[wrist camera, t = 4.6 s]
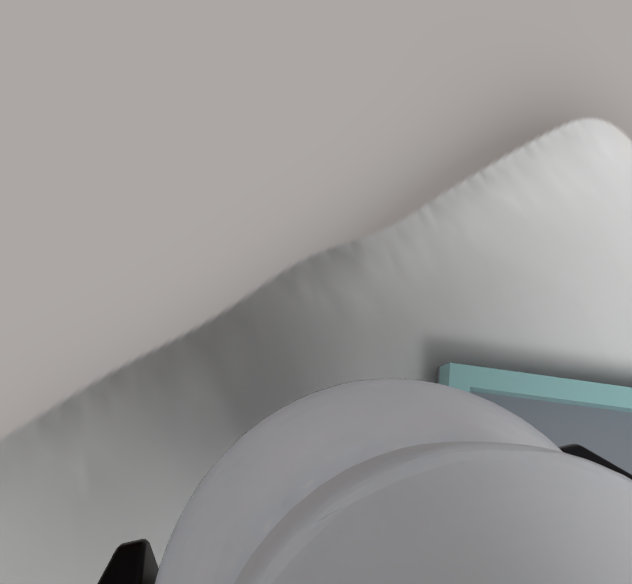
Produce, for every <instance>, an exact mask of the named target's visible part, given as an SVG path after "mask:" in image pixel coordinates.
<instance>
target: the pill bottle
mask: <svg viewBox="0 0 632 584" xmlns="http://www.w3.org/2000/svg"><path fill="white" fill-rule="evenodd" d="M155 584H632V480H631V479H630V478H628V477H626V476H624V475H622V474H620V473H618V472H615V471H613V470H611V469H609V468H606V467H604V466H602V465H600V464H597V463H595V462H592V461H590V460H587V459H584V458H581V457H577V456H574V455H570V454H567V453H564V452H562V451H561V450H560V449H559V448H558V447H557V446H556V445H555V444H554V443H553V442H552V441H551V440H550V439H548V438H547V437H546V436H545V435H544V434H542V433H541V432H540V431H538V430H537V429H536V428H534V427H533V426H532V425H531V424H529V423H528V422H526V421H525V420H523V419H522V418H520V417H519V416H517V415H515V414H513V413H512V412H510V411H508V410H507V409H505V408H503V407H501V406H499V405H497V404H495V403H493V402H491V401H489V400H486V399H484V398H482V397H479V396H477V395H474V394H472V393H469V392H466V391H464V390H460V389H457V388H453V387H450V386H446V385H442V384H437V383H432V382H427V381H420V380H410V379H373V380H361V381H355V382H350V383H345V384H340V385H336V386H333V387H330V388H327V389H323V390H320V391H317V392H314V393H312V394H310V395H307V396H305V397H303V398H300V399H298V400H296V401H294V402H292V403H290V404H288V405H286V406H285V407H283V408H281V409H279V410H277V411H276V412H274V413H273V414H271V415H270V416H268V417H266V418H265V419H263V420H262V421H260V422H259V423H258V424H256V425H255V426H254V427H253V428H251V429H250V430H249V431H248V432H246V433H245V434H244V435H243V436H242V437H241V438H240V439H239V440H237V441H236V442H235V443H234V444H233V445H232V446H231V447H230V448H229V449H228V450H227V451H226V452H225V453H224V454H223V456H222V457H221V458H220V459H219V460H218V461H217V462H216V463H215V464H214V466H213V467H212V468H211V469H210V471H209V472H208V473H207V475H206V476H205V477H204V479H203V480H202V481H201V483H200V484H199V486H198V487H197V489H196V490H195V492H194V493H193V495H192V496H191V498H190V499H189V501H188V503H187V505H186V507H185V509H184V510H183V512H182V514H181V516H180V518H179V520H178V521H177V524H176V526H175V528H174V531H173V533H172V535H171V538H170V540H169V542H168V544H167V547H166V550H165V553H164V555H163V558H162V561H161V564H160V567H159V570H158V574H157V577H156V581H155Z"/></svg>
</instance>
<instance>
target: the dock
mask: <svg viewBox="0 0 632 584" xmlns="http://www.w3.org/2000/svg"><path fill="white" fill-rule="evenodd" d="M437 384H442V385H446V386H450V387H453V388H457V389H460V390H464V391H466V392H469V393H472V394H474V395H477V396H479V397H482V398H484V399H486V400H489V401H491V402H493V403H495V404H497V405H499V406H501V407H503V408H505V409H507V410H508V411H510V412H512V413H513V414H515V415H517V416H519V417H520V418H522V419H523V420H525V421H526V422H528V423H529V424H531V425H532V426H533V427H534V428H536V429H537V430H538V431H540V432H541V433H542V434H544V435H545V436H546V437H547V438H548V439H550V440H551V441H552V442H553V443H554V444H555V445H556V446H557V447H559V446H564V445H568V444H579V445H581V446H583V447H585V448H587V449H589V450H590V451H592V452H594V453H595V454H597V455H599V456H601V457H602V458H604V459H606V460H608V461H609V462H611V463H613V464H614V465H616V466H618V467H620V468H621V469H623V470H625V471H626V472H628V473H630V474H632V387H625V386H617V385H610V384H603V383H595V382H588V381H581V380H574V379H566V378H559V377H552V376H544V375H537V374H530V373H523V372H515V371H508V370H501V369H494V368H486V367H479V366H472V365H464V364H457V363H448V364H445V365H442V366H440V367H438V370H437Z"/></svg>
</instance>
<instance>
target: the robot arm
mask: <svg viewBox="0 0 632 584" xmlns="http://www.w3.org/2000/svg"><path fill="white" fill-rule="evenodd" d="M558 448H559V449H560V450H561V451H562V452H564V453H567V454H570V455H574V456H577V457H581V458H584V459H587V460H590V461H592V462H595V463H597V464H600V465H602V466H604V467H606V468H609V469H611V470H613V471H615V472H618V473H620V474H622V475H624V476H626V477H628V478H630V479H631V480H632V474H630V473H628V472H626V471H625V470H623V469H621V468H620V467H618V466H616V465H614V464H613V463H611V462H609V461H608V460H606V459H604V458H602V457H601V456H599V455H597V454H595V453H594V452H592V451H590V450H589V449H587V448H585V447H583V446H581V445H579V444H568V445H564V446H559V447H558ZM158 570H159V568H158V566H157V563H156V560H155V557H154V554H153V551H152V548H151V546H150V543H149V542H148V541H147V540H146V539H140V540H136V541H131V542H127V543H123V544H121V545H120V546H119V547H118V548H117V549H116V551H115V552H114V554H113V556H112V558H111V560H110V562H109V563H108V565H107V567H106V569H105V571H104V573H103V575H102V576H101V578H100V580H99V582H98V584H155V581H156V577H157V574H158Z"/></svg>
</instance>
